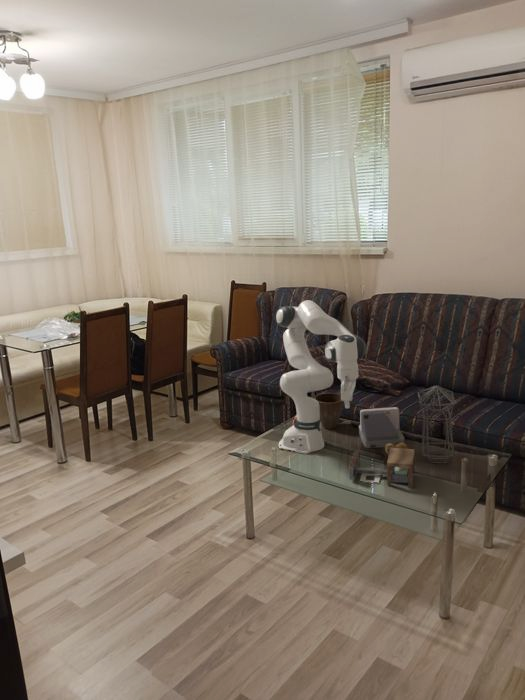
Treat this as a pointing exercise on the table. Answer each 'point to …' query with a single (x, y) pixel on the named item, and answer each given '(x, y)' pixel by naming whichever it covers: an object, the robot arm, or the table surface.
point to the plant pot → (329, 409)
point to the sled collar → (373, 471)
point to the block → (401, 471)
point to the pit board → (370, 477)
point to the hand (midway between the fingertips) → (348, 404)
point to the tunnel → (400, 462)
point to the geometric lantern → (441, 390)
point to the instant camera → (380, 427)
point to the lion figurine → (394, 446)
